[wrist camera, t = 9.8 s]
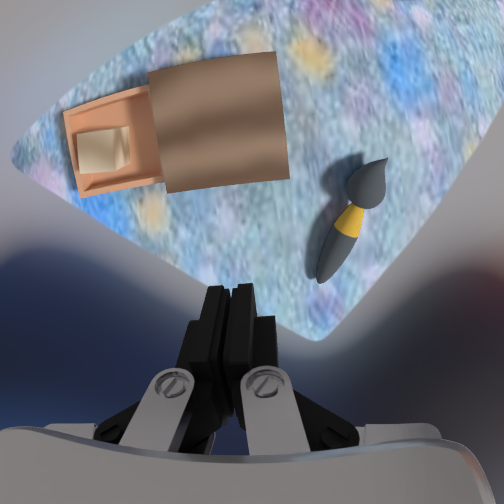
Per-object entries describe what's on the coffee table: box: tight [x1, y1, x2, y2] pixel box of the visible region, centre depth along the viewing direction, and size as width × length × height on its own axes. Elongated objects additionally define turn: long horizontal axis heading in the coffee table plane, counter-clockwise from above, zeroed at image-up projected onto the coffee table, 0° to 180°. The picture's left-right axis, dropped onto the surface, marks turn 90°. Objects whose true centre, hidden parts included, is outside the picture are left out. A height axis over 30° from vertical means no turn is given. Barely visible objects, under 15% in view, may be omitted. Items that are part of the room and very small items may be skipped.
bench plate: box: [148, 51, 290, 194], centre depth 32 cm, size 14×14×6 cm
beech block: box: [77, 126, 131, 174], centre depth 33 cm, size 5×5×5 cm
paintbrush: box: [316, 158, 388, 284], centre depth 38 cm, size 20×5×5 cm, turn 167°
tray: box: [63, 84, 165, 198], centre depth 34 cm, size 12×13×4 cm
